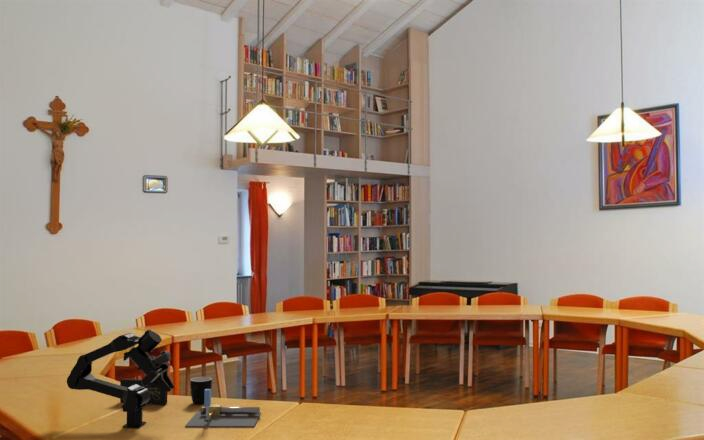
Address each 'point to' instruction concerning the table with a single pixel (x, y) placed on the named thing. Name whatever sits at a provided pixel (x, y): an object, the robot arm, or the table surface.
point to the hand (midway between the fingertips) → (171, 389)
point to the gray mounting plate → (224, 421)
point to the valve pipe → (229, 410)
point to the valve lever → (207, 403)
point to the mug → (199, 388)
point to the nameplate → (156, 393)
